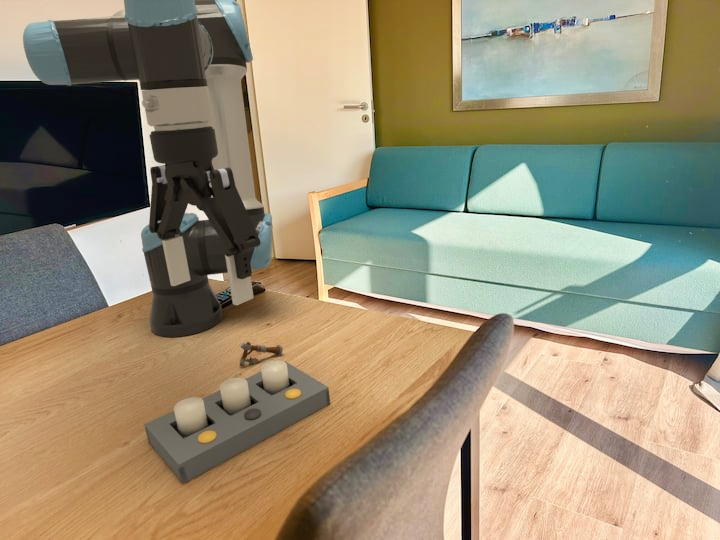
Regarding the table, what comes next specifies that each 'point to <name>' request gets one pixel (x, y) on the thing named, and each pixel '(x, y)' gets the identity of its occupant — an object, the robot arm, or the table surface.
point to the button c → (275, 376)
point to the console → (235, 424)
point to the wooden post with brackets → (257, 348)
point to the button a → (190, 416)
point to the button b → (235, 395)
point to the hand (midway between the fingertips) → (210, 291)
